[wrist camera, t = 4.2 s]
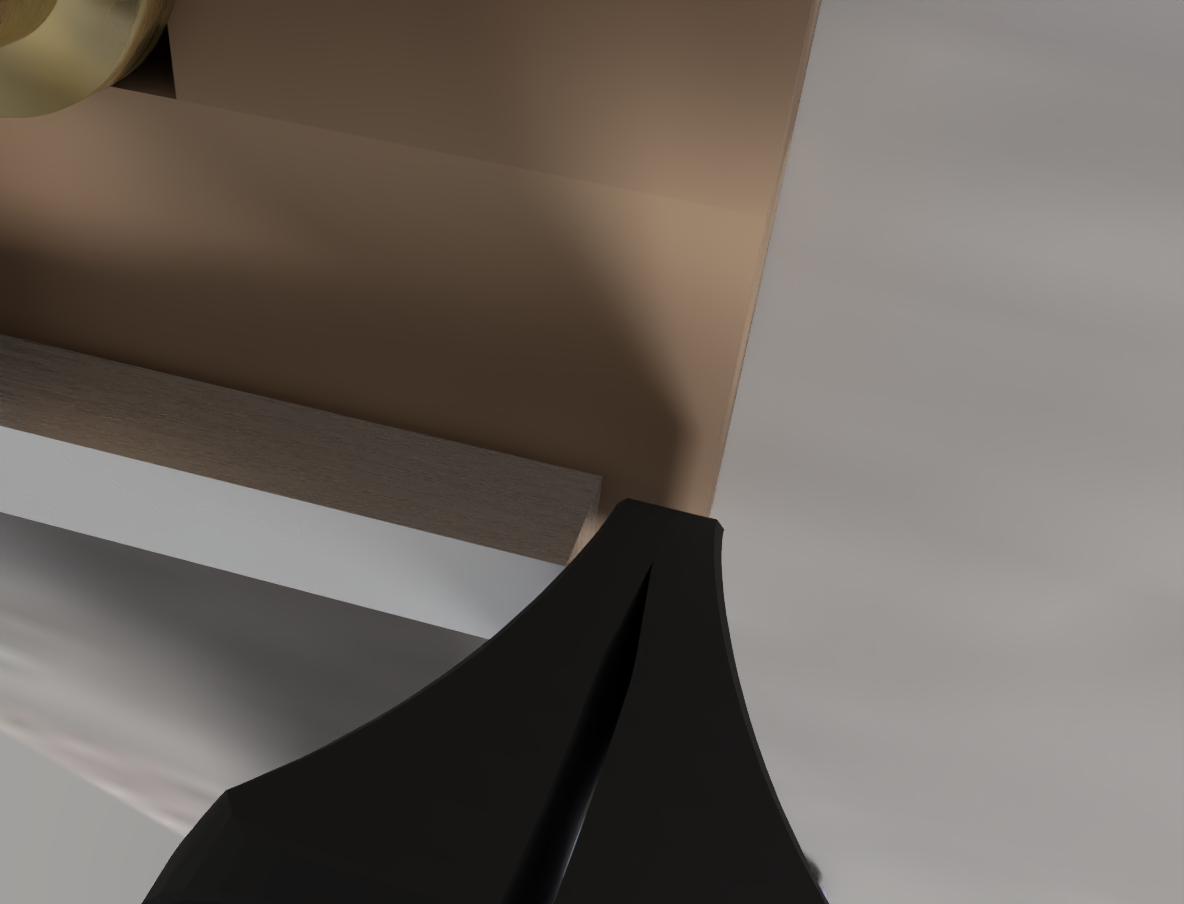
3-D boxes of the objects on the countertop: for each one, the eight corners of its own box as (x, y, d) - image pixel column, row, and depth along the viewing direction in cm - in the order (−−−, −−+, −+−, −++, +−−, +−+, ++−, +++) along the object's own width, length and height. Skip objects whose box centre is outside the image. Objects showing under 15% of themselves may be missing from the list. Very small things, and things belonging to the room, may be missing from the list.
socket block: (711, 511, 18) (677, 637, 16) (5, 344, 20) (-120, 434, 18) (923, -470, 11) (920, -510, 8) (-227, -598, 13) (-494, -659, 10)
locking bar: (590, 563, 15) (554, 656, 14) (-120, 387, 17) (-219, 454, 15) (641, 194, 12) (602, 265, 10) (-243, 18, 13) (-381, 59, 12)
